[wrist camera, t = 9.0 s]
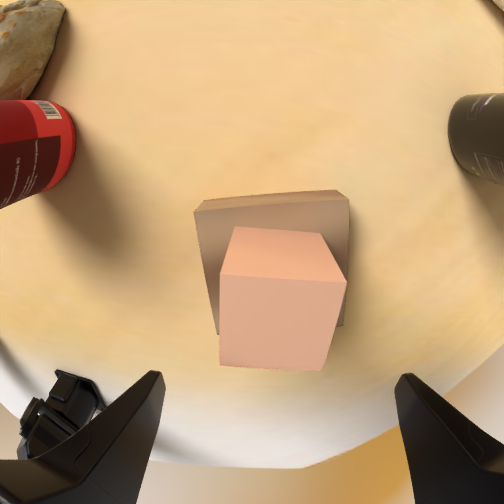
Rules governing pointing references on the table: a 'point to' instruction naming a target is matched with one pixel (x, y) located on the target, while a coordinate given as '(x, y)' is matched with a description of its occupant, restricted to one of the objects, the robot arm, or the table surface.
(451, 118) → the supplement bottle
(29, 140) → the canned food
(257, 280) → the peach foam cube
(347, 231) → the walnut box
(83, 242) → the table surface
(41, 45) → the pastry
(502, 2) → the bowl
